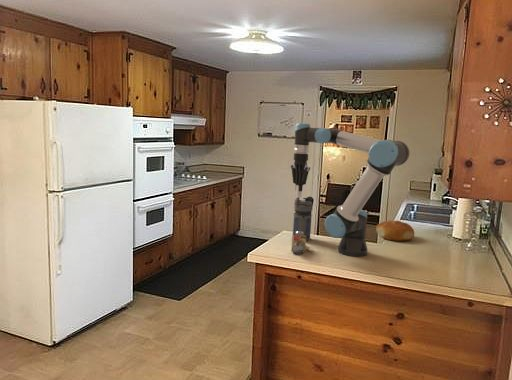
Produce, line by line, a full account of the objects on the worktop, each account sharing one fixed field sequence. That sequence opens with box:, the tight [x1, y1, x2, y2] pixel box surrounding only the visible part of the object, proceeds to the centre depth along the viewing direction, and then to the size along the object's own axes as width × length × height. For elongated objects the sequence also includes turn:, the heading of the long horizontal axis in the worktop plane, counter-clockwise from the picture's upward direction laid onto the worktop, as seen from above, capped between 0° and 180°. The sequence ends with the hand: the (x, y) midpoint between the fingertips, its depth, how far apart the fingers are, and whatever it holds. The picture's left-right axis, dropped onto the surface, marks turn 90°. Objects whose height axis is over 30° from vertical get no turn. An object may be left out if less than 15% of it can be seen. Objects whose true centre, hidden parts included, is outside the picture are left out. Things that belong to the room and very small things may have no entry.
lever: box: [293, 231, 303, 241], centre depth 212 cm, size 14×4×2 cm, turn 167°
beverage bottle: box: [292, 196, 315, 241], centre depth 239 cm, size 10×13×25 cm
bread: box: [375, 220, 415, 242], centre depth 254 cm, size 23×23×10 cm
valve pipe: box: [290, 234, 307, 255], centre depth 218 cm, size 18×7×8 cm, turn 171°
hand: (298, 197), depth 223 cm, fingers closed
